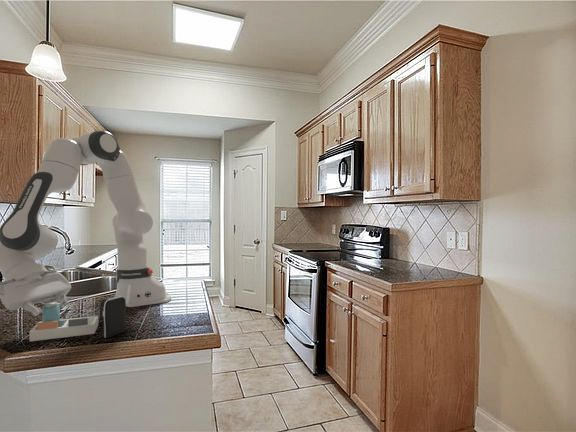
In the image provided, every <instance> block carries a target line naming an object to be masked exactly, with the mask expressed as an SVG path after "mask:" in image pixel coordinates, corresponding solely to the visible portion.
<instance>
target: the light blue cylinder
mask: <svg viewBox="0 0 576 432" xmlns="http://www.w3.org/2000/svg"><path fill="white" fill-rule="evenodd" d="M60 307H61V306H60V305H59V304H58V301H50V302H46V303H45V302H44V305H43V306H42V308H41V310H42V311H43V312H42V313H41V315H42V318H41V319H42V321H41V322H50V321H58V327H60V320H61V315H60V314H61V308H60Z"/></svg>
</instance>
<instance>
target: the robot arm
mask: <svg viewBox="0 0 576 432" xmlns="http://www.w3.org/2000/svg"><path fill="white" fill-rule="evenodd" d="M120 149H121V148H120V146H119V142H118V141H117V139H116V137H115V136H114V135H113V134H112V133H111V132H109V131H106V130H95V131H93V132H87V133H85V134H81V135H80V136H77V137H75V138H72V139H69V138H66V137H58V138H56V139H54V140H52V141H51V143H50V144H49V146H48V148H47V150H46V151H45V153H44V156H43V157H42V161H41V163H40V165H39V168H38V170H37V171H36V173H34V174H33V175H32V176H31V177H30V178H29V180H27V181H28V182H27V183H26V185H25V187H24V189H23V191H22V193H21V194H20V197H19V199H18V201H17V202H16V205H15V206H14V209H13V210H12V212H10V214H9V216H8V217H7V218H6V219H5V220H4V222H3V223H2V224H1V225H0V272H1V274H2V276H3V279H4V280H5V281H0V300H1V303H2V305H3V306H4V307H5V308H6V309H7V310H9V311H14V310H18V309H21V308H22V309H23V310H24V311H27V312H29V313H32V315H33V316H34V317H38V316H41V315H42V312H43V311H42V308H41V307H36V305H35V304H38V303H42V302H45V301H49V300H52V299H55V298H56V299H57V300H60V302H59V304H58V305H60V307H61V308H65V307H67V306H68V305H69V304H70V302H69V301H68V300H67V295H68V293H69V292H70V291H71V290H72V285H71V283H70V281H68V279H67V278H66V277H65V276H64V275H63V274H62V273H60V272H58V268H57V266H55V265H49V264H42V263H37V260H40V259H41V258H43V257H46V256H47V255H49V254H50V253H52V252H53V251H54V250H55V249H56V248H57V245H58V242H59V240H58V238H59V237H58V236H57V234H56V232H55V231H53V230H52V229H50V228H49V227H47V226H45V225H43V224H41V223H40V221H39V216H40V213H41V211H42V209H43V207H44V205H45V202H46V200H47V198H48V197H49V195H51V194H52V193H53V194H54V193H57V194H58V193H59V194H60V193H65V192H67V191H69V190H71V189H72V188H73V187H74V185H75V183H76V181H77V179H78V175H79V171H80V167H81V166H88V165H94V164H97V165H98V166H99V167H100V169H101V172H102V177H103V180H104V184H105V187H106V189H107V190H106V191H107V194H108V197H109V200H110V201H111V202H112V205H113V206H114V208H115V211H116V214H115V215H114V216H113V219H112V227H113V230H114V231H113V232H114V236H115V244H116V248H117V249H116V250H117V269H116V273H115V275H116V276H115V278H116V279H115V280H116V284H117V285H116V290H115V296H118V297H124V298H125V302H126V308H134V307H135V308H136V307H143V306H148V305H149V306H150V305H156V304H163V303H168V302H170V301H171V300H172V296H171V294H170V293H168V292H167V291H166V286H165V285H164V283H163V282H161V281H160V280H159V279H157V278H155V277H154V276H152V274H153V273H154V271H153V269H152V268H150V267H147V247H146V245H145V241H144V238H143V237H144V236H143V235H146V234H147V233H149V232H150V231H151V230H152V228H153V225H154V220H153V217H152V215H151V214H150V213H149V212H148V209H147V207H146V205H145V203H144V201H143V200H142V198H141V194H140V192H139V189H138V186H137V184H136V179H135V177H134V176H135V175H134V173H133V170H132V166H131V163H130V162H129V160H128V158H127V155H126V153H125V152H124V151H122V150H120Z"/></svg>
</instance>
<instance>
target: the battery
mask: <svg viewBox="0 0 576 432" xmlns="http://www.w3.org/2000/svg"><path fill="white" fill-rule="evenodd" d="M126 309H127V307H126V302H125V298H124V297H118V296H116V295H115V296H112V297H111V296H110V297H107V298H104V299H102V300H101V301H100V304H99V317H100V318H102V326H103V327H102V328H103V329H102V333H101V336H102V338H105V339H108V338H111V337H115V336H118V335H120V334H123V333H126V319H127V318H126V313H127V311H126Z"/></svg>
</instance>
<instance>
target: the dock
mask: <svg viewBox="0 0 576 432" xmlns="http://www.w3.org/2000/svg"><path fill="white" fill-rule="evenodd" d="M98 327H99V315H94V316H93V315H92V316H86V317H85V316H84V317H76V318H75V317H74V318H66V319H60V327H58V321H50V322H42V321H38V322H37V323H36V324H35V325H34V326H33V327H32V328H31V329H30V330H29V342H35V341H36V342H37V341H45V340H51V339H53V340H54V339H55V340H56V339H61V338H71V337H78V336H79V337H80V336H86V335H94V334H95V333H96V331H97V329H98Z"/></svg>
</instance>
